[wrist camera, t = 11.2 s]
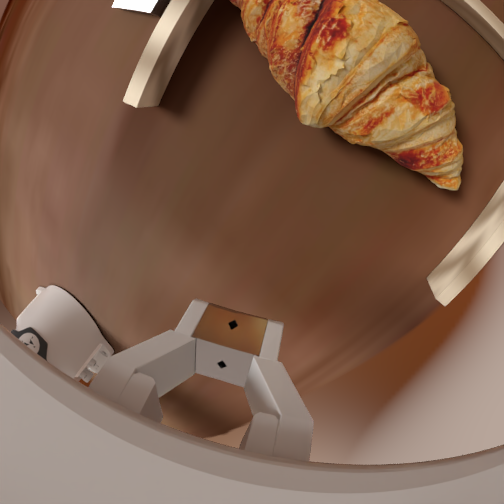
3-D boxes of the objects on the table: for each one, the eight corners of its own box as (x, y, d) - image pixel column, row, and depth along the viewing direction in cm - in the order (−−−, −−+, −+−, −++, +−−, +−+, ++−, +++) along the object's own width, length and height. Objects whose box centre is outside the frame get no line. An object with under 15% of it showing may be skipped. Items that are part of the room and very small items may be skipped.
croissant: (451, 150, 18) (519, 137, 10) (400, 236, 18) (478, 251, 10) (266, -12, 14) (281, -75, 7) (179, 50, 15) (159, -22, 7)
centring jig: (435, 286, 21) (446, 310, 18) (144, 99, 19) (118, 101, 16) (552, 113, 9) (574, 118, 6) (268, -87, 7) (259, -107, 4)
